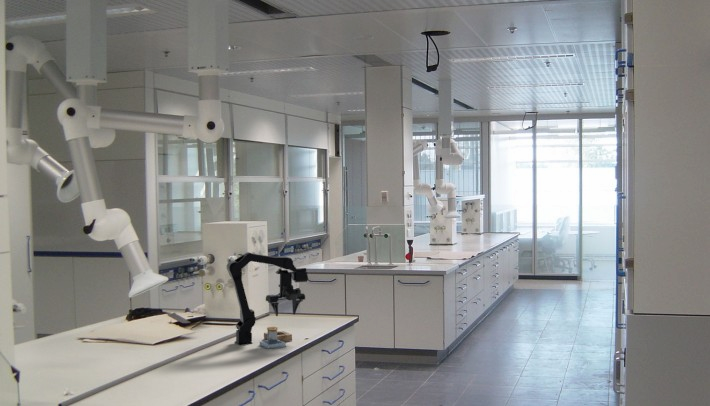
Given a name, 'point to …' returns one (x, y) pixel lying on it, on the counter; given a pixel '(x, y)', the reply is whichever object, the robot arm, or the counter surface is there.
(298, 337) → the counter surface
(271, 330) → the pin
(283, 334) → the brown square frame
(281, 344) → the tray
